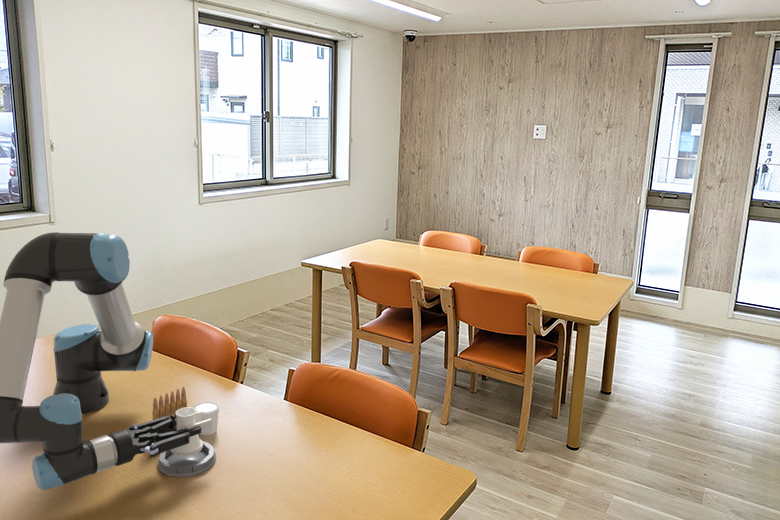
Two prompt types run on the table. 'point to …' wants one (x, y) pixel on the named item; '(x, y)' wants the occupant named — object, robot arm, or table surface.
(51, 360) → the table surface
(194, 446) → the vase
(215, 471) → the table surface
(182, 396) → the ammunition clip
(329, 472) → the table surface
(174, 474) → the socket ring
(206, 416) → the shot glass
